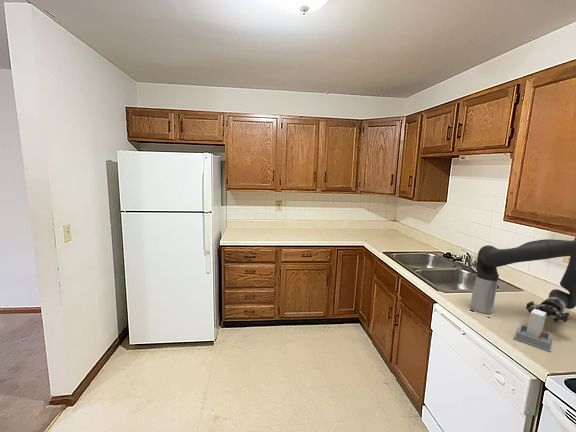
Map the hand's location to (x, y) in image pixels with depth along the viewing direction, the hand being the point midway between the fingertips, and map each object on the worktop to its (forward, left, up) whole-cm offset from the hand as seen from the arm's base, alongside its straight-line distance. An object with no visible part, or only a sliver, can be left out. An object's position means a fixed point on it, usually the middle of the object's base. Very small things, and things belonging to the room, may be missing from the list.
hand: (542, 315), depth 131 cm
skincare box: (-1, -7, -9) cm, 12 cm away
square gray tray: (-1, -7, -9) cm, 12 cm away
